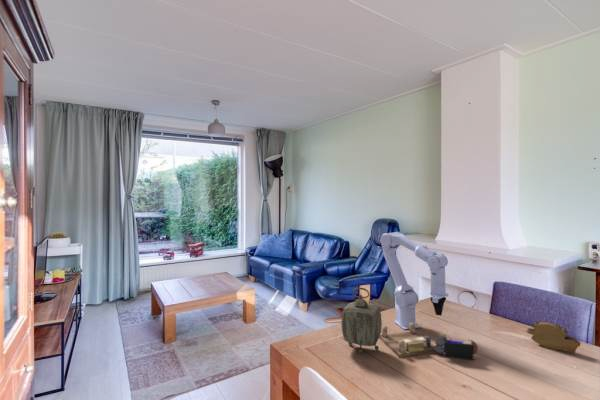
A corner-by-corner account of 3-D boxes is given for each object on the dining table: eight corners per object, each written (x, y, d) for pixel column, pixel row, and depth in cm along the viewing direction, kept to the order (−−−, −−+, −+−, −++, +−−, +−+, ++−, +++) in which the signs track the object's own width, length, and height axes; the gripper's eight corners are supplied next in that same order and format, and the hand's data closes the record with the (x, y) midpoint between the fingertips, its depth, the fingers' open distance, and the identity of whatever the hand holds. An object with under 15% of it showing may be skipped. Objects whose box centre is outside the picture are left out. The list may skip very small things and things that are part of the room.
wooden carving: (580, 352, 119) (580, 326, 119) (580, 357, 116) (579, 330, 116) (527, 340, 130) (526, 316, 130) (525, 344, 127) (525, 319, 127)
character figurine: (433, 350, 125) (477, 356, 119) (434, 357, 118) (480, 364, 112) (433, 330, 125) (476, 335, 120) (434, 336, 118) (479, 342, 113)
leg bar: (427, 343, 127) (427, 335, 127) (432, 346, 124) (432, 338, 124) (402, 347, 124) (402, 339, 124) (406, 350, 122) (406, 342, 122)
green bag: (382, 348, 126) (380, 286, 126) (377, 359, 118) (376, 293, 118) (347, 342, 132) (345, 283, 132) (340, 352, 124) (339, 289, 124)
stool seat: (378, 338, 136) (378, 325, 136) (414, 333, 139) (414, 321, 139) (399, 357, 119) (398, 343, 119) (439, 351, 122) (438, 338, 122)
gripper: (445, 288, 126) (446, 322, 126) (450, 280, 138) (451, 310, 138) (426, 286, 130) (427, 319, 130) (433, 278, 142) (434, 308, 142)
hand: (438, 314), depth 134 cm, fingers closed
